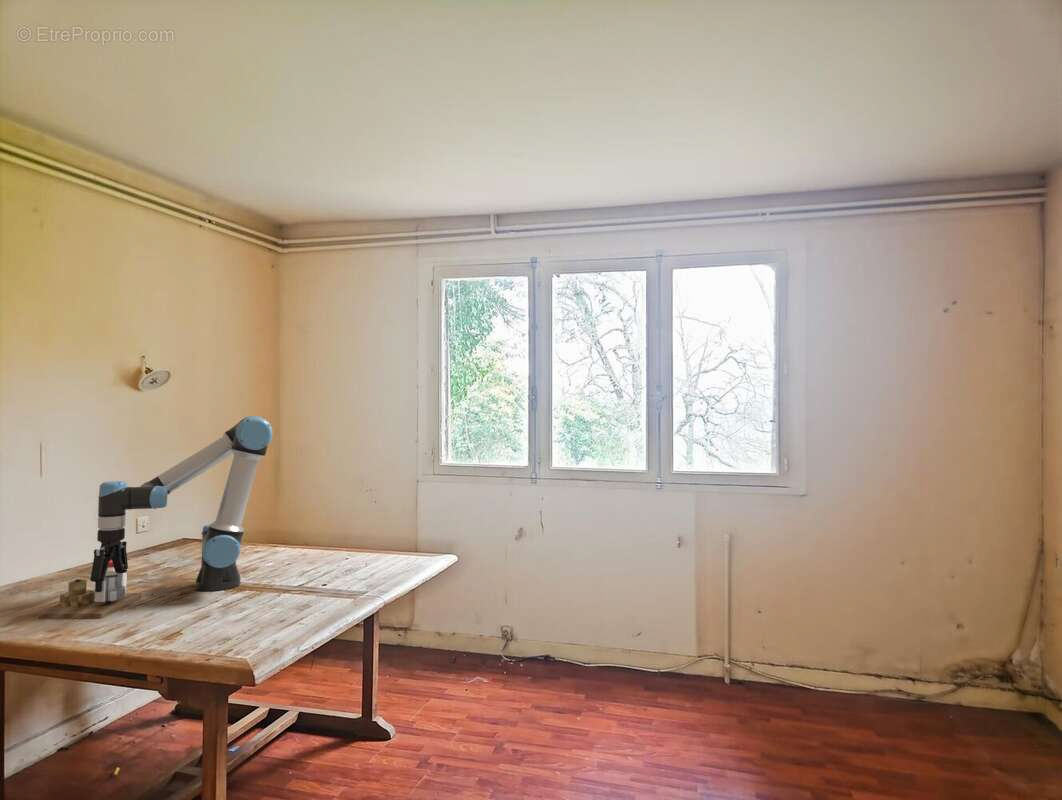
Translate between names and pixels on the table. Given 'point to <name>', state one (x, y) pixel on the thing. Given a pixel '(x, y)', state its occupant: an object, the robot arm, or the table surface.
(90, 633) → the table surface
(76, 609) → the gear board
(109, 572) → the pill bottle
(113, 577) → the steel gear
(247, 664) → the table surface
